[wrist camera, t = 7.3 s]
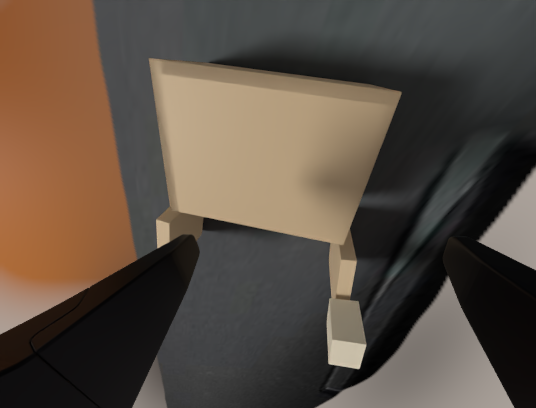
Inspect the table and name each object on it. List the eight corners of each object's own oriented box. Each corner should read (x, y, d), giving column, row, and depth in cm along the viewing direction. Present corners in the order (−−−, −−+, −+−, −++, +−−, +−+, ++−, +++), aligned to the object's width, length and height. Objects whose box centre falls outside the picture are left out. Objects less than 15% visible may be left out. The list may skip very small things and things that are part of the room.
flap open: (324, 260, 24) (328, 363, 15) (328, 208, 21) (337, 303, 12) (343, 261, 23) (359, 369, 15) (351, 209, 20) (376, 308, 12)
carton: (205, 62, 17) (148, 58, 11) (370, 84, 15) (402, 91, 10) (208, 173, 21) (170, 210, 16) (335, 196, 20) (343, 245, 15)
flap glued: (211, 185, 22) (145, 259, 13) (206, 235, 25) (150, 318, 17) (192, 179, 22) (114, 249, 13) (189, 229, 25) (125, 310, 17)
